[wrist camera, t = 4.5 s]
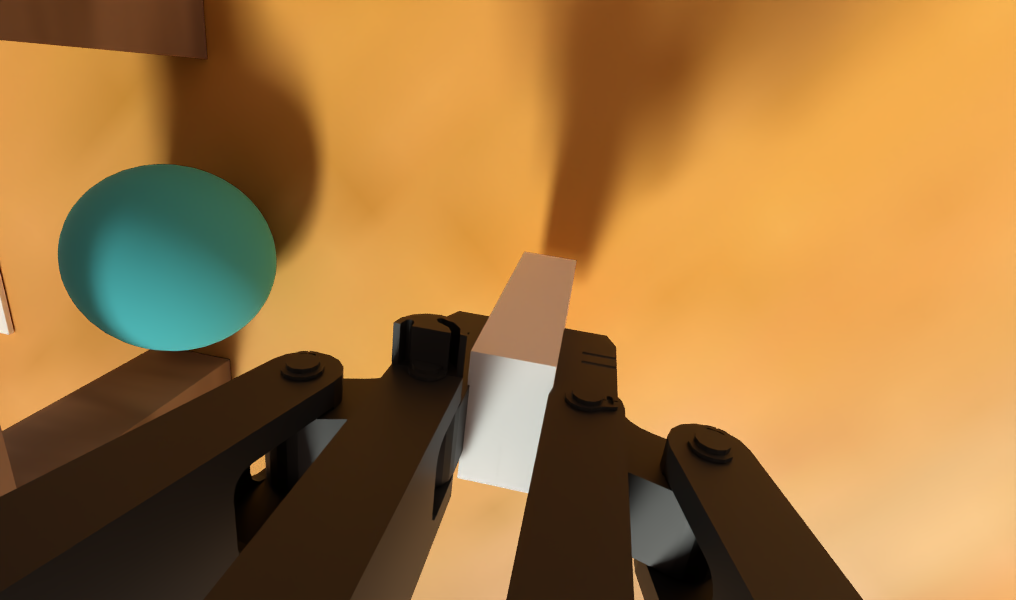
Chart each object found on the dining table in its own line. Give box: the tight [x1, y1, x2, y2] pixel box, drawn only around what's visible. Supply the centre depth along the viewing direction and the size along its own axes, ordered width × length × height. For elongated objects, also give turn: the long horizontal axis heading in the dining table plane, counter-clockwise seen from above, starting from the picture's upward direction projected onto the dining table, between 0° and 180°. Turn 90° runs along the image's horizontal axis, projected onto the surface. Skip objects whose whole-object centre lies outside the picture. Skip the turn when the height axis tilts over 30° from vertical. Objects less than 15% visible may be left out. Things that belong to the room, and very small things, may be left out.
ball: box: [58, 164, 276, 351], centre depth 16 cm, size 6×6×6 cm
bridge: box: [0, 0, 231, 497], centre depth 15 cm, size 3×14×9 cm, turn 173°
